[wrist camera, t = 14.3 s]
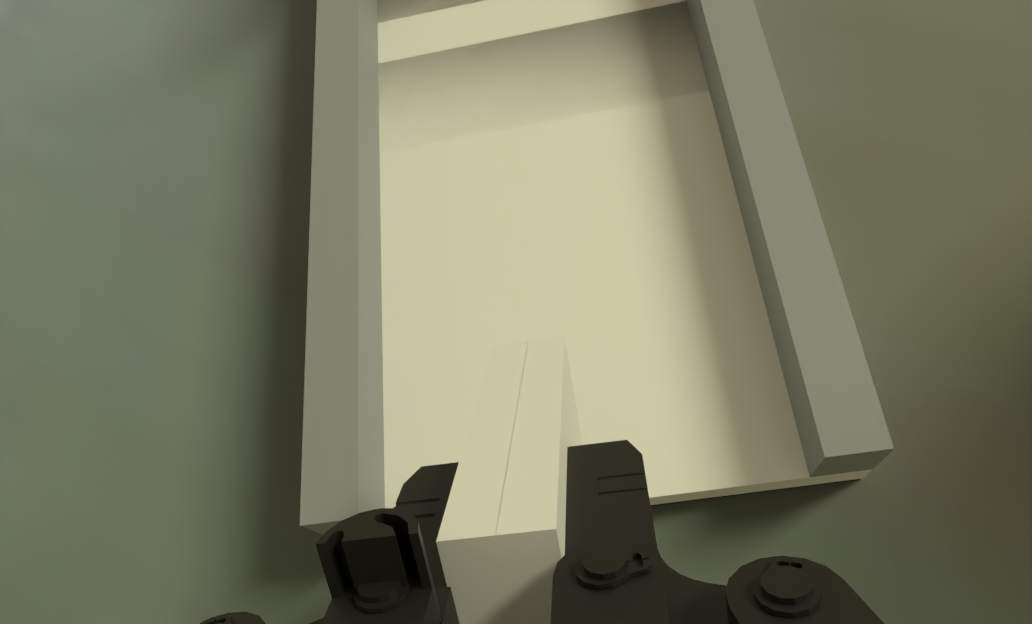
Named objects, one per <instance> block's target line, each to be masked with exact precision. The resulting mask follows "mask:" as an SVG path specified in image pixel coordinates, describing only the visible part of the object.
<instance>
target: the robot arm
mask: <svg viewBox="0 0 1032 624" xmlns="http://www.w3.org/2000/svg"><path fill="white" fill-rule="evenodd" d="M316 546H317V550H318V553H319V556H320V560H321V563H322V566H323V570H324V573H325V576H326V579H327V583H328V586H329V589H330V593H331V596H332V600H331V603H330V605H329V607H328V609H327V612H326V614H325V616H324V618H322V619H319V620H317V621H315V622H312V623H310V624H884V623H883V622H882V621H881V620H880V619H879V618H878V617H877V615H876V614H875V613H874V612H873V611H872V610H871V609H870V608H869V607H868V606H867V605H866V603H865V602H864V601H863V600H862V599H861V598H860V597H859V596H858V595H857V594H856V593H855V591H854V590H853V589H852V588H851V587H850V586H849V585H848V584H847V583H846V582H845V581H844V579H842V578H841V577H840V576H838V575H837V574H836V573H834V572H833V571H832V570H830V569H829V568H828V567H827V566H824V565H821V564H818V563H816V562H813V561H810V560H808V559H805V558H796V557H788V556H776V557H768V558H760V559H757V560H755V561H753V562H750V563H748V564H746V565H743V566H741V567H740V568H739V569H738V570H737V571H736V572H735V573H734V574H733V575H732V576H731V577H730V578H729V581H728V584H727V586H725V585H718V584H710V583H706V582H701V581H696V580H693V579H690V578H688V577H685V576H683V575H681V574H679V573H677V572H676V571H674V570H673V569H671V568H670V567H669V566H668V565H667V564H666V563H665V562H664V561H663V559H662V558H661V557H660V554H659V551H658V549H657V544H656V538H655V531H654V525H653V519H652V513H651V506H650V500H649V494H648V488H647V481H646V476H645V469H644V463H643V456H642V453H641V452H640V451H638V450H637V449H636V448H635V447H634V446H633V445H632V444H631V443H630V442H629V441H628V440H620V441H612V442H604V443H595V444H587V445H583V443H582V437H581V431H580V425H579V419H578V413H577V407H576V401H575V395H574V389H573V383H572V377H571V371H570V365H569V359H568V353H567V347H566V341H565V336H562V337H555V338H548V339H540V340H533V341H526V342H519V343H512V344H504V345H497V346H492V348H491V352H490V355H489V359H488V362H487V366H486V369H485V373H484V376H483V380H482V383H481V387H480V390H479V394H478V397H477V401H476V404H475V408H474V411H473V415H472V418H471V422H470V425H469V429H468V432H467V435H466V439H465V442H464V446H463V449H462V453H461V456H460V460H459V462H455V463H447V464H439V465H430V466H422V467H420V468H419V469H418V470H417V471H416V472H415V473H414V474H413V475H412V476H411V477H410V478H409V479H408V480H407V481H406V482H405V483H404V484H403V486H402V488H401V491H400V493H399V496H398V498H397V501H396V507H394V508H379V509H374V510H370V511H365V512H361V513H358V514H356V515H354V516H351V517H349V518H347V519H344V520H342V521H340V522H339V523H338V524H336V525H335V526H333V527H332V528H330V529H329V530H328V531H326V532H325V533H324V535H323V536H322V537H321V538H320V540H319V541H318V542H317V543H316ZM200 624H265V623H264V621H263V620H262V619H261V617H260V616H258V615H255V614H251V613H248V612H235V613H226V614H223V615H219V616H217V617H213V618H210V619H207V620H205V621H203V622H202V623H200Z"/></svg>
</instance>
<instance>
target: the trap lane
mask: <svg viewBox="0 0 1032 624" xmlns="http://www.w3.org/2000/svg"><path fill="white" fill-rule="evenodd" d="M562 336H565V341H566V347H567V353H568V359H569V365H570V371H571V377H572V383H573V389H574V395H575V401H576V407H577V413H578V419H579V425H580V431H581V437H582V443H583V445H587V444H595V443H604V442H612V441H620V440H628V441H629V442H630V443H631V444H632V445H633V446H634V447H635V448H636V449H637V450H638V451H640V452H641V453H642V456H643V463H644V469H645V476H646V481H647V488H648V494H649V500H650V505H656V504H664V503H672V502H680V501H688V500H695V499H703V498H711V497H719V496H727V495H735V494H743V493H751V492H759V491H767V490H775V489H783V488H790V487H798V486H806V485H814V484H822V483H830V482H838V481H846V480H854V479H862V478H864V477H865V476H866V475H867V474H868V473H869V472H870V471H871V470H872V469H873V468H874V467H875V466H876V465H877V464H878V463H879V462H881V461H882V460H883V459H884V458H885V457H886V456H887V455H888V454H889V453H890V452H891V451H892V450H893V449H894V447H893V444H892V440H891V437H890V434H889V431H888V428H887V424H886V421H885V418H884V415H883V412H882V409H881V405H880V402H879V399H878V396H877V393H876V389H875V386H874V383H873V380H872V377H871V374H870V370H869V367H868V364H867V361H866V358H865V354H864V351H863V348H862V345H861V342H860V339H859V335H858V332H857V329H856V326H855V323H854V319H853V316H852V313H851V310H850V307H849V304H848V300H847V297H846V294H845V291H844V288H843V284H842V281H841V278H840V275H839V272H838V269H837V265H836V262H835V259H834V256H833V253H832V249H831V246H830V243H829V240H828V237H827V234H826V230H825V227H824V224H823V221H822V218H821V214H820V211H819V208H818V205H817V202H816V198H815V195H814V192H813V189H812V186H811V183H810V179H809V176H808V173H807V170H806V167H805V163H804V160H803V157H802V154H801V151H800V148H799V144H798V141H797V138H796V135H795V132H794V128H793V125H792V122H791V119H790V116H789V113H788V109H787V106H786V103H785V100H784V97H783V93H782V90H781V87H780V84H779V81H778V78H777V74H776V71H775V68H774V65H773V62H772V58H771V55H770V52H769V49H768V46H767V43H766V39H765V36H764V33H763V30H762V27H761V23H760V20H759V17H758V14H757V11H756V8H755V4H754V1H753V0H317V13H316V43H315V74H314V104H313V135H312V165H311V196H310V226H309V256H308V287H307V317H306V348H305V378H304V409H303V439H302V470H301V500H300V526H301V527H304V528H306V529H309V530H312V531H314V532H317V533H319V534H322V535H324V533H325V532H326V531H328V530H329V529H330V528H332V527H333V526H335V525H336V524H338V523H339V522H340V521H342V520H344V519H347V518H349V517H351V516H354V515H356V514H358V513H361V512H365V511H370V510H374V509H379V508H394V507H396V501H397V498H398V496H399V493H400V491H401V488H402V486H403V484H404V483H405V482H406V481H407V480H408V479H409V478H410V477H411V476H412V475H413V474H414V473H415V472H416V471H417V470H418V469H419V468H420V467H422V466H430V465H439V464H447V463H455V462H459V460H460V456H461V453H462V449H463V446H464V442H465V439H466V435H467V432H468V429H469V425H470V422H471V418H472V415H473V411H474V408H475V404H476V401H477V397H478V394H479V390H480V387H481V383H482V380H483V376H484V373H485V369H486V366H487V362H488V359H489V355H490V352H491V348H492V346H497V345H504V344H512V343H519V342H526V341H533V340H540V339H548V338H555V337H562Z"/></svg>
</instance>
